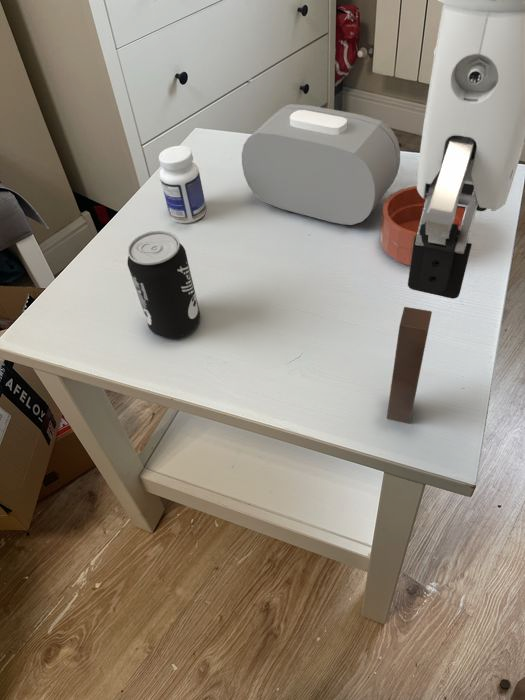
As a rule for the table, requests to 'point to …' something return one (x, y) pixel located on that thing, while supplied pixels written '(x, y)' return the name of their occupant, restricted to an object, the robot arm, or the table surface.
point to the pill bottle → (181, 184)
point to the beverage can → (163, 283)
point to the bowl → (404, 223)
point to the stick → (408, 363)
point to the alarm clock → (321, 162)
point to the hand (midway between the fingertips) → (449, 245)
